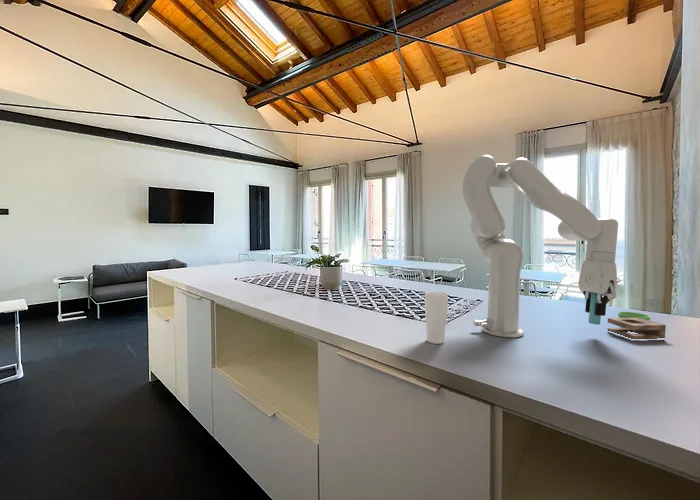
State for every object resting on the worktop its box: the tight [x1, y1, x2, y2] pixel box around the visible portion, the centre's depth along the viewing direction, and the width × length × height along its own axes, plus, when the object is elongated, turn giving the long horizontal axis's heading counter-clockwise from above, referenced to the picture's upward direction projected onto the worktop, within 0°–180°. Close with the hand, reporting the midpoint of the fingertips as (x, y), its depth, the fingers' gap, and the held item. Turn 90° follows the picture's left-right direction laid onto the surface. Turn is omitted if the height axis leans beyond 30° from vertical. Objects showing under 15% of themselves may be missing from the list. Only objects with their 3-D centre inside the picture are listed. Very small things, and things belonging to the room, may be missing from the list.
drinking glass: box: [424, 291, 449, 345], centre depth 99 cm, size 7×7×15 cm
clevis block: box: [606, 317, 667, 339], centre depth 105 cm, size 11×9×5 cm
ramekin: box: [617, 311, 651, 321], centre depth 118 cm, size 9×9×4 cm
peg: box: [588, 292, 604, 325], centre depth 104 cm, size 3×3×10 cm
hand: (595, 313), depth 104 cm, fingers closed on peg, 3 cm apart
